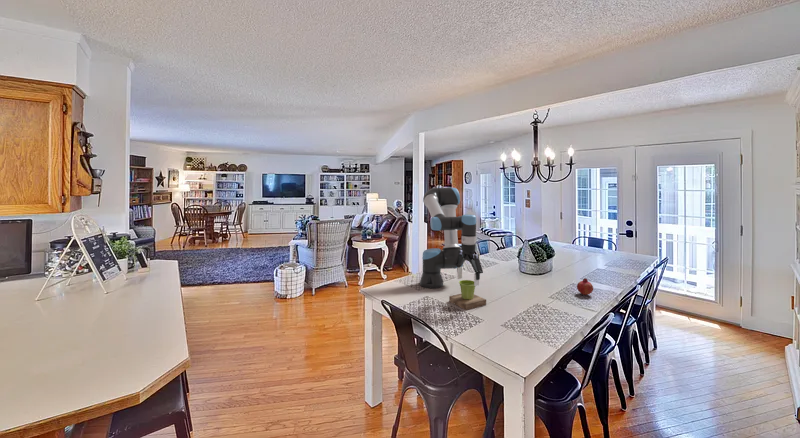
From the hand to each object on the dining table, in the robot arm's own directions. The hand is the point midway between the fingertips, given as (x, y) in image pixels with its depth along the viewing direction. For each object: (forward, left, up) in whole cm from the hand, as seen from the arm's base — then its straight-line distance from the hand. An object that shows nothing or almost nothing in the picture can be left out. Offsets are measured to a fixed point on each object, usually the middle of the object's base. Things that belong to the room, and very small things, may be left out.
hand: (467, 281), depth 170 cm
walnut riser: (0, 0, -12) cm, 12 cm away
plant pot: (0, 0, -9) cm, 9 cm away
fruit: (+24, +68, -12) cm, 73 cm away
